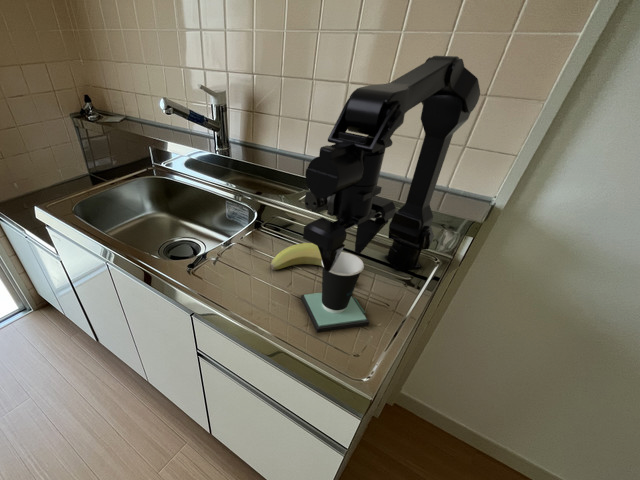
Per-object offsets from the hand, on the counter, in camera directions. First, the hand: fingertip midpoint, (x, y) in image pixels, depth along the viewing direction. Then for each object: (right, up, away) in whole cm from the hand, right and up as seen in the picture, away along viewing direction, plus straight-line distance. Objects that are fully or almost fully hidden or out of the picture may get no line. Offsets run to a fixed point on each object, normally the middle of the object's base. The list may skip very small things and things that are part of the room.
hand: (342, 261), depth 64 cm
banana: (-1, -1, +20) cm, 20 cm away
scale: (0, -10, +8) cm, 13 cm away
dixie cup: (0, -9, +8) cm, 12 cm away
